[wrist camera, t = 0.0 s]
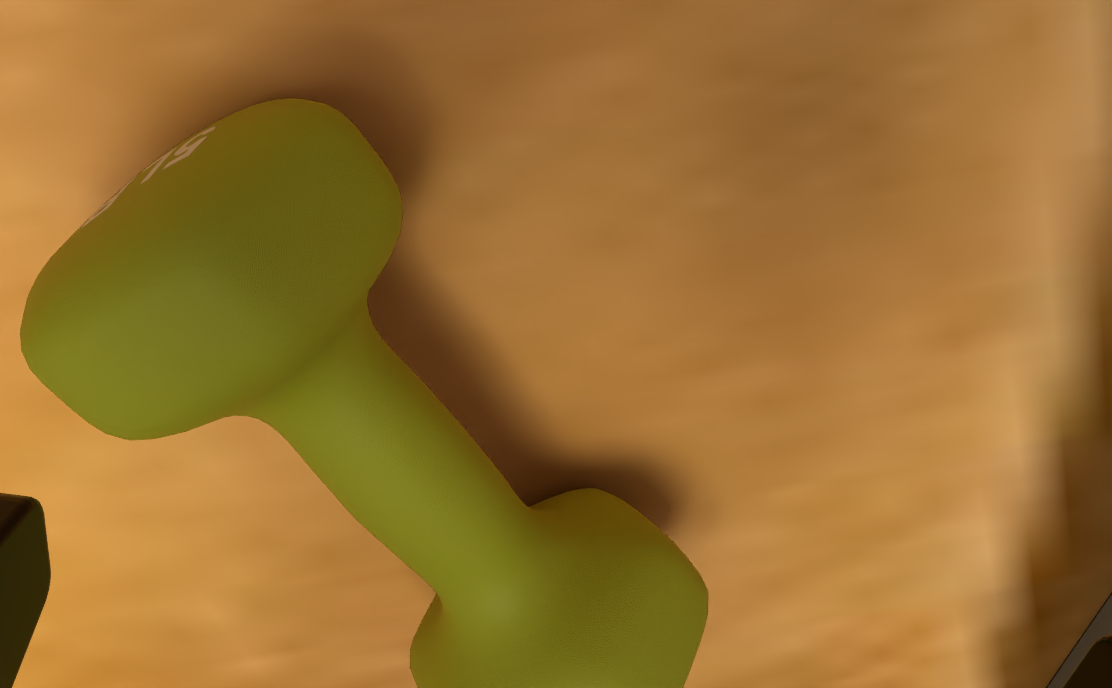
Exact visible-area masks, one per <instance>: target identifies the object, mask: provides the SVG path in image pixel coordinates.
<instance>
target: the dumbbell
mask: <svg viewBox="0 0 1112 688" xmlns="http://www.w3.org/2000/svg"><path fill="white" fill-rule="evenodd" d="M402 216H403V204H402V200H401V196H400V191H399V188H398V186H397V184H396V182H395V180H394V179H393V177H392V175H391V173H390V171H389V170H388V168H387V167H386V166H385V164H384V163H383V161H382V160H381V158H380V157H379V155H378V154H377V153H376V152H375V150H374V149H373V148H372V146H371V145H370V144H369V143H368V141H367V140H366V139H365V137H364V136H363V135H362V134H361V132H360V131H359V130H358V129H357V127H356V126H355V125H354V124H353V123H352V122H351V121H350V120H349V119H348V118H347V117H346V116H345V115H343V114H342V113H341V112H340V111H338V110H336V109H334V108H332V107H331V106H329V105H327V104H324V103H320V102H315V101H311V100H305V99H298V98H286V99H275V100H271V101H267V102H263V103H259V104H256V105H252V106H250V107H247V108H245V109H242V110H240V111H237V112H235V113H233V114H231V115H229V116H227V117H225V118H223V119H221V120H219V121H217V122H215V123H213V124H211V125H209V126H208V127H206V128H204V129H202V130H201V131H199V132H197V133H195V134H194V135H192V136H190V137H189V138H187V139H186V140H184V141H183V142H181V143H180V144H178V145H177V146H175V147H174V148H172V149H171V150H169V151H168V152H166V153H165V154H164V155H162V156H161V157H159V158H158V159H157V160H155V161H154V162H153V163H151V164H150V165H149V166H148V167H146V168H145V169H144V170H143V171H141V172H140V173H139V174H138V175H137V176H136V177H134V178H133V179H132V180H131V181H130V182H129V183H127V184H126V185H125V186H124V187H123V188H122V189H121V190H119V191H118V192H117V193H116V194H115V195H114V196H113V197H112V198H110V199H109V200H108V201H107V202H106V203H105V204H104V205H103V206H102V207H100V208H99V209H98V210H97V211H96V212H95V213H94V214H93V215H92V216H91V217H90V218H89V219H88V220H87V221H86V222H85V223H84V224H83V225H82V226H81V227H80V228H79V229H78V230H77V231H76V232H75V233H74V234H73V235H72V236H71V237H70V238H69V239H68V240H67V241H66V242H65V243H64V244H63V245H62V246H61V247H60V248H59V249H58V251H57V252H56V253H55V254H54V255H53V256H52V257H51V258H50V260H49V261H48V262H47V263H46V265H45V266H44V268H43V269H42V270H41V272H40V273H39V275H38V276H37V278H36V280H35V282H34V284H33V286H32V288H31V290H30V292H29V295H28V298H27V301H26V306H25V310H24V314H23V319H22V324H21V329H20V338H21V350H22V353H23V355H24V357H25V359H26V362H27V364H28V366H29V368H30V369H31V371H32V372H33V373H34V374H35V375H36V376H37V378H38V379H39V380H40V381H41V382H42V383H43V384H44V385H45V386H46V387H47V388H48V389H50V390H51V391H52V392H53V393H54V394H55V395H56V396H57V397H58V398H60V399H61V400H62V401H63V402H64V403H65V404H66V405H67V406H68V407H70V408H71V409H72V410H73V411H74V412H76V413H77V414H78V415H79V416H80V417H82V418H83V419H84V420H85V421H87V422H88V423H89V424H91V425H93V426H94V427H96V428H97V429H99V430H101V431H102V432H104V433H105V434H109V435H112V436H115V437H119V438H122V439H126V440H144V439H156V438H161V437H165V436H169V435H174V434H178V433H182V432H186V431H189V430H191V429H194V428H197V427H199V426H202V425H205V424H207V423H210V422H213V421H215V420H218V419H221V418H224V417H229V416H249V417H253V418H257V419H259V420H261V421H263V422H265V423H267V424H269V425H270V426H271V427H273V428H274V429H275V430H276V431H278V432H279V433H280V434H281V435H282V436H283V437H284V438H285V439H286V440H287V441H288V442H289V443H290V444H291V446H292V447H293V448H294V449H295V450H296V451H297V452H298V454H299V455H300V456H301V457H302V458H303V460H304V461H305V462H306V463H307V464H308V466H309V467H310V468H311V469H312V470H313V471H314V472H315V474H316V475H317V476H318V477H319V478H320V479H321V480H322V482H323V483H324V484H325V485H326V486H327V487H328V488H329V490H330V491H331V492H332V493H333V494H334V495H335V496H336V498H337V499H338V500H339V501H340V502H341V503H342V505H343V506H344V507H345V508H346V509H347V510H348V511H349V512H350V513H351V514H352V516H353V517H354V518H355V519H356V520H357V521H358V522H360V523H361V524H362V525H363V526H364V527H365V528H366V529H367V530H368V531H369V532H370V533H372V534H373V535H374V536H375V537H376V538H377V539H378V540H380V541H381V542H382V543H383V544H384V545H385V546H386V547H387V548H389V549H390V550H391V551H392V552H393V553H394V554H395V555H396V556H398V557H399V558H400V559H401V560H402V561H403V562H404V563H405V564H407V565H408V566H409V567H410V568H411V569H412V570H414V571H415V572H416V573H417V574H418V575H419V576H420V577H422V578H423V579H424V580H425V581H426V582H427V583H428V584H429V585H430V586H431V587H432V588H433V589H434V590H435V592H436V593H437V594H436V596H435V597H434V599H433V601H432V603H431V604H430V606H429V608H428V610H427V612H426V614H425V616H424V618H423V620H422V622H421V624H420V626H419V628H418V630H417V632H416V634H415V636H414V638H413V642H412V645H411V649H410V668H411V671H412V674H413V677H414V680H415V682H416V685H417V687H418V688H683V687H684V684H685V681H686V679H687V676H688V674H689V671H690V669H691V666H692V663H693V660H694V658H695V655H696V652H697V650H698V647H699V644H700V641H701V638H702V635H703V631H704V628H705V624H706V620H707V615H708V590H707V588H706V586H705V583H704V581H703V579H702V577H701V575H700V574H699V572H698V571H697V570H696V568H695V567H694V566H693V564H692V563H691V562H690V560H689V559H688V558H687V557H686V555H685V554H684V553H683V552H682V551H681V550H680V549H679V547H678V546H677V545H676V544H675V543H674V542H673V541H672V540H671V539H670V538H669V537H668V536H667V535H666V534H665V533H664V532H663V531H662V530H661V529H659V528H658V527H657V526H656V525H655V524H654V523H652V522H651V521H650V520H649V519H648V518H646V517H645V516H644V515H643V514H641V513H640V512H639V511H638V510H636V509H635V508H633V507H632V506H631V505H629V504H628V503H626V502H625V501H623V500H621V499H620V498H618V497H616V496H615V495H612V494H610V493H608V492H606V491H603V490H601V489H597V488H584V489H577V490H571V491H568V492H565V493H562V494H559V495H556V496H554V497H551V498H549V499H546V500H544V501H541V502H539V503H537V504H534V505H532V506H530V507H527V506H526V505H525V504H524V503H523V502H522V501H521V500H520V498H519V497H518V496H517V495H516V493H515V492H514V490H513V489H512V488H511V486H510V485H509V483H508V482H507V481H506V479H505V478H504V477H503V475H502V474H501V473H500V471H499V470H498V469H497V468H496V466H495V465H494V464H493V463H492V461H491V460H490V459H489V458H488V457H487V455H486V454H485V453H484V452H483V451H482V449H481V448H480V447H479V446H478V444H477V443H476V442H475V441H474V440H473V438H472V437H471V436H470V435H469V434H468V432H467V431H466V430H465V429H464V428H463V426H462V425H461V424H460V423H459V422H458V421H457V419H456V418H455V417H454V416H453V415H452V414H451V413H450V412H449V410H448V409H447V408H446V407H445V406H444V405H443V404H442V403H441V402H440V400H439V399H438V398H437V397H436V396H435V395H434V394H433V393H432V391H431V390H430V389H429V388H428V387H427V386H426V385H425V384H424V383H423V381H422V380H421V379H420V378H419V377H418V376H417V375H416V374H415V373H414V372H413V371H412V370H411V369H410V368H409V367H408V366H407V365H406V364H405V363H404V362H403V361H402V360H401V359H400V358H399V357H398V356H397V354H396V353H395V352H394V351H393V350H392V349H391V348H390V347H389V346H388V345H387V344H386V342H385V341H384V340H383V339H382V338H381V336H380V335H379V333H378V332H377V330H376V329H375V327H374V325H373V322H372V320H371V318H370V315H369V311H368V304H367V299H368V292H369V290H370V288H371V287H372V285H373V284H374V283H375V281H376V279H377V278H378V276H379V275H380V273H381V272H382V270H383V268H384V267H385V265H386V264H387V262H388V260H389V259H390V257H391V255H392V252H393V250H394V247H395V245H396V242H397V239H398V237H399V234H400V231H401V225H402Z"/></svg>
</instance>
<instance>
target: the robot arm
mask: <svg viewBox="0 0 1112 688" xmlns="http://www.w3.org/2000/svg"><path fill="white" fill-rule="evenodd" d="M50 579H51V568H50V560H49V551H48V543H47V535H46V526H45V518H44V512H43V508H42V506H41V504H40V502H39V501H38V500H37V499H34V498H32V497H28V496H20V495H12V494H5V493H0V688H12V686H13V684H14V681H15V678H16V676H17V673H18V671H19V668H20V666H21V663H22V661H23V658H24V655H25V653H26V650H27V648H28V645H29V643H30V640H31V638H32V635H33V633H34V630H35V627H36V625H37V622H38V620H39V617H40V615H41V612H42V610H43V607H44V604H45V602H46V599H47V595H48V591H49V586H50ZM1062 688H1112V635H1106V636H1103V637H1101V638H1099V639H1098V640H1096V641H1095V642H1094V643H1093V645H1092V646H1091V647H1090V649H1089V650H1088V652H1087V653H1086V654H1085V656H1084V657H1083V659H1082V660H1081V661H1080V663H1079V664H1078V666H1077V667H1076V669H1075V670H1074V671H1073V673H1072V674H1071V676H1070V677H1069V679H1068V680H1067V681H1066V683H1065V684H1064V686H1063V687H1062Z"/></svg>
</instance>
